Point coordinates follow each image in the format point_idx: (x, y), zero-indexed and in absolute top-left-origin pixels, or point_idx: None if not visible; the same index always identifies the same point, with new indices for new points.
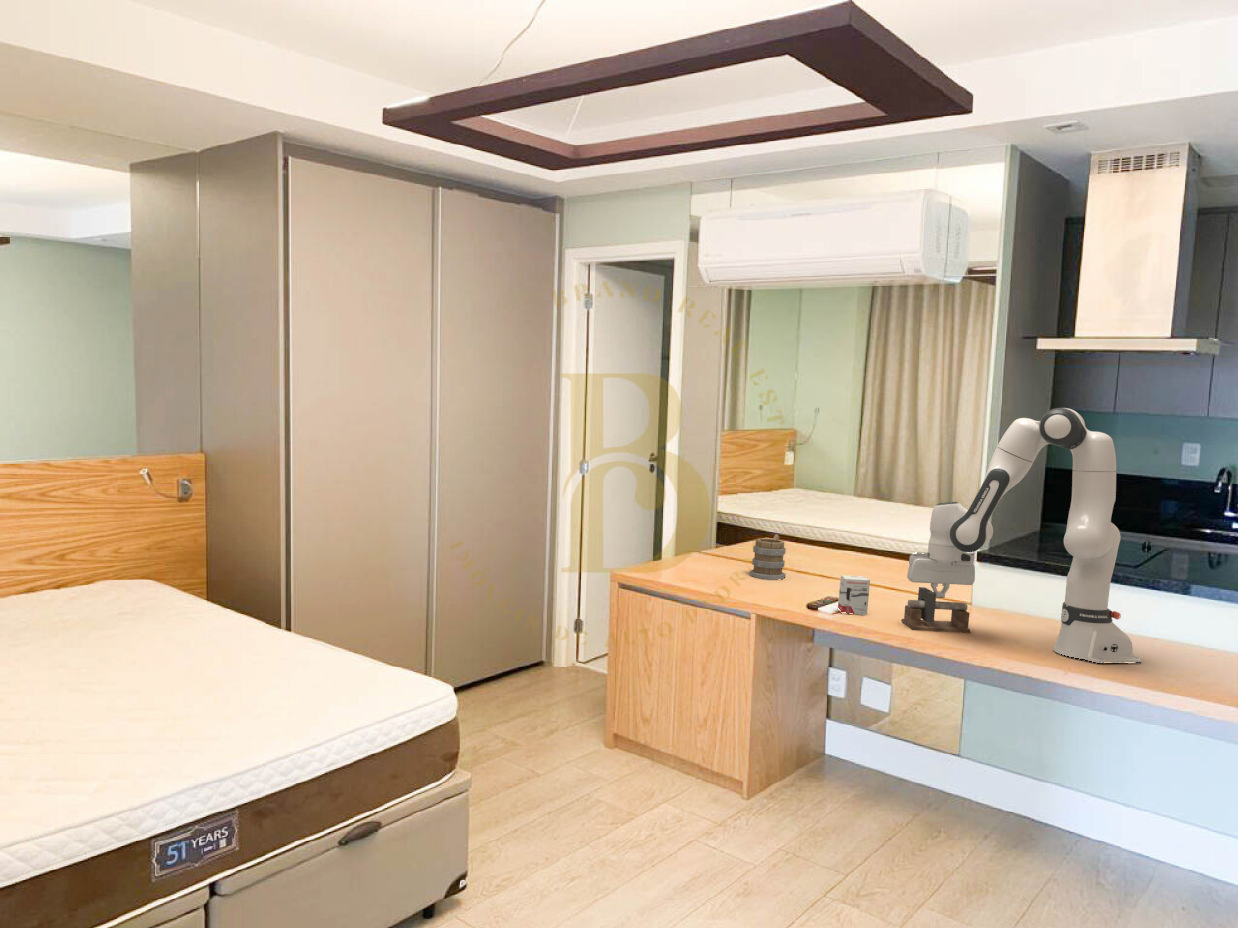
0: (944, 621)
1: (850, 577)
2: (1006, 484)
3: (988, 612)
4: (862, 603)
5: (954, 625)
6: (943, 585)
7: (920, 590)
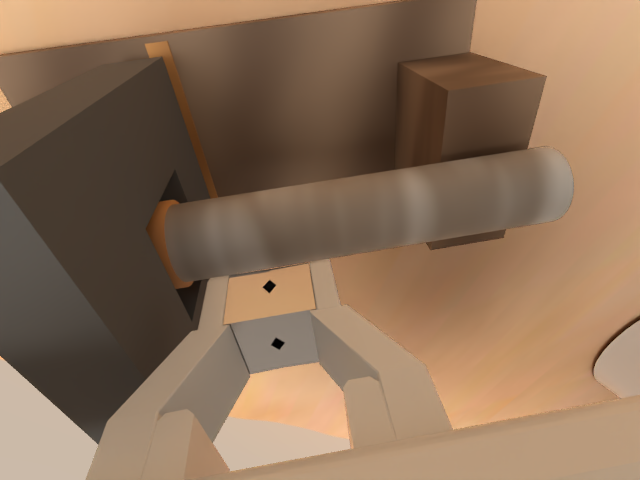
0: (360, 31)
1: None
2: None
3: None
4: None
5: (390, 144)
6: (348, 425)
7: None
